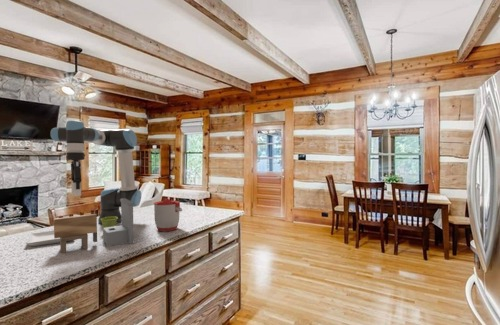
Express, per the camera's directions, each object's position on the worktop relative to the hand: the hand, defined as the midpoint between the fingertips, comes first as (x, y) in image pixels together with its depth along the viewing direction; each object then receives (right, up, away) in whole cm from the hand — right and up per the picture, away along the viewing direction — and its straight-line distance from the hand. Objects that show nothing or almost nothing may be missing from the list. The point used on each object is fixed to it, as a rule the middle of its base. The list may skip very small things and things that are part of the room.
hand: (76, 194), depth 140 cm
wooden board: (0, -25, 0) cm, 25 cm away
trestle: (-1, -27, 0) cm, 27 cm away
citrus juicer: (+36, -26, +36) cm, 57 cm away
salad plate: (-22, -27, +15) cm, 38 cm away
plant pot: (+2, -27, +29) cm, 40 cm away
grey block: (+15, -27, +12) cm, 33 cm away
